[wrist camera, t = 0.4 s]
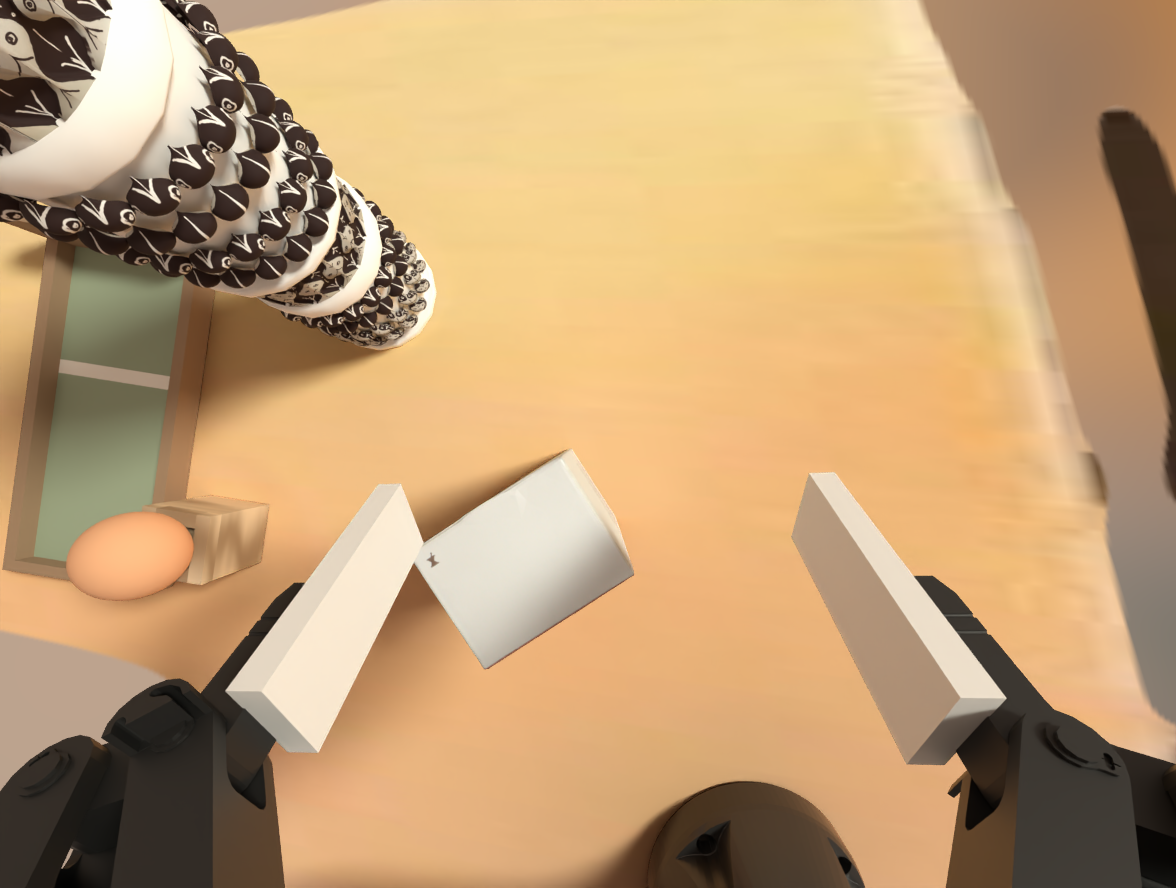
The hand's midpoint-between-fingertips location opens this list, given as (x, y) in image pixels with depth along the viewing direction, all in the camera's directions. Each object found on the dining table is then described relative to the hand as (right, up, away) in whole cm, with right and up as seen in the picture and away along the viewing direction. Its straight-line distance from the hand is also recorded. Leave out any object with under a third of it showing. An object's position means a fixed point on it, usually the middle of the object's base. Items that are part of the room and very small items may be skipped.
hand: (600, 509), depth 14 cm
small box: (-3, -3, +17) cm, 18 cm away
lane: (-35, +5, +17) cm, 39 cm away
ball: (-27, -4, +10) cm, 29 cm away
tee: (-27, -4, +17) cm, 32 cm away
